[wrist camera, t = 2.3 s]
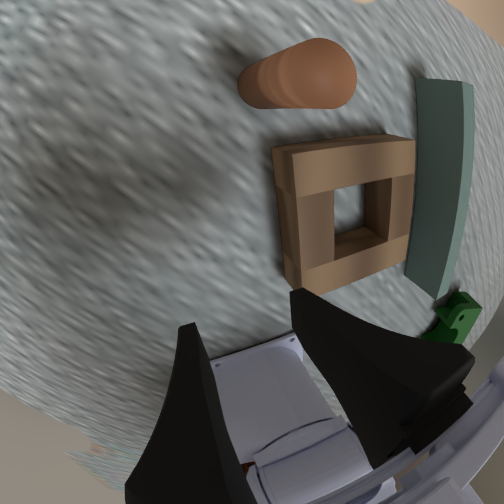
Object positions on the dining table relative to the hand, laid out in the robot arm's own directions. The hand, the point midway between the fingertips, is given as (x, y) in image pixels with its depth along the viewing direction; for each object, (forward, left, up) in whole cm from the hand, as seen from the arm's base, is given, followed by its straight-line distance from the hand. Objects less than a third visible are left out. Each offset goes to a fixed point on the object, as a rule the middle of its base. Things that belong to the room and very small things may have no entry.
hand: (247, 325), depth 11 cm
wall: (+20, 0, -8) cm, 22 cm away
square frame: (+10, 0, -8) cm, 13 cm away
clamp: (+30, -23, -9) cm, 39 cm away
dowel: (+5, +9, -8) cm, 13 cm away
